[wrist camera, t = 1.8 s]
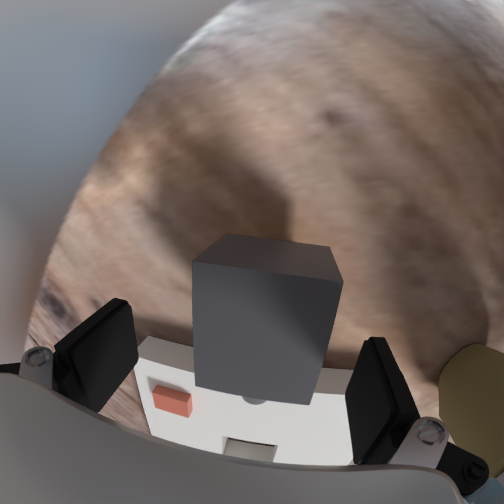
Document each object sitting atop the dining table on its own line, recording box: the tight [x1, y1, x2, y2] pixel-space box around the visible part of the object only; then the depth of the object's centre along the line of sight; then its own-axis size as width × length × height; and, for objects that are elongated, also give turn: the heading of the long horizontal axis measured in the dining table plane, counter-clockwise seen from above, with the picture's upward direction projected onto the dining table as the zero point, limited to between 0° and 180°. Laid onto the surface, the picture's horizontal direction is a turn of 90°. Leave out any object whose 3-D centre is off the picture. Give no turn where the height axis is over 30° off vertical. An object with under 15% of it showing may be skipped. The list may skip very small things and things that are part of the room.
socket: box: [134, 336, 354, 465], centre depth 21 cm, size 20×20×4 cm
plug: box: [192, 234, 343, 405], centre depth 15 cm, size 9×6×8 cm, turn 175°
